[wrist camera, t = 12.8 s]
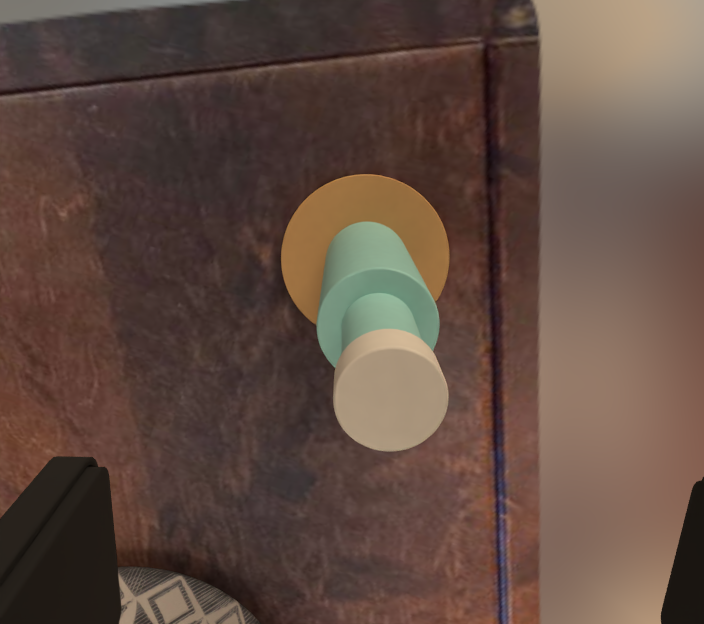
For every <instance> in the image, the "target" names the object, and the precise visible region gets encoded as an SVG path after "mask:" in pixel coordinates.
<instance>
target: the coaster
mask: <svg viewBox="0 0 704 624" xmlns="http://www.w3.org/2000/svg"><path fill="white" fill-rule="evenodd" d="M358 222H376V223H380V224H382V225H385V226H387V227H389V228H390V229H391V230H393V231H394V232H395V233H396V234H397V235H398V236H399V237H400V239H401V240H402V242H403V243H404V245H405V247H406V249H407V251H408V253H409V254H410V256H411V258H412V260H413V262H414V264H415V266H416V267H417V269H418V271H419V273H420V275H421V277H422V279H423V280H424V282H425V284H426V286H427V288H428V290H429V292H430V293H431V295H432V297H433V299H434V301H435V302H436V301H437V299H438V297H439V296H440V294H441V292H442V289H443V287H444V285H445V281H446V278H447V275H448V268H449V245H448V239H447V235H446V232H445V229H444V226H443V224H442V222H441V220H440V218H439V216H438V214H437V213H436V211H435V210H434V209H433V207H432V206H431V205H430V203H429V202H428V201H427V200H426V199H425V198H424V197H423V196H422V195H421V194H419V193H418V192H417V191H415V190H414V189H413V188H411V187H409V186H408V185H406V184H404V183H402V182H400V181H397V180H395V179H392V178H389V177H385V176H381V175H372V174H359V175H352V176H346V177H343V178H340V179H336V180H334V181H332V182H330V183H327V184H325V185H324V186H322V187H320V188H319V189H317V190H316V191H315V192H313V193H312V194H311V195H310V196H309V197H307V198H306V199H305V201H304V202H303V203H302V204H301V205H300V206H299V207H298V209H297V210H296V212H295V213H294V215H293V216H292V218H291V220H290V222H289V224H288V226H287V229H286V232H285V235H284V239H283V243H282V250H281V267H282V273H283V278H284V281H285V284H286V287H287V290H288V292H289V294H290V296H291V298H292V300H293V301H294V303H295V304H296V306H297V307H298V308H299V310H300V311H301V312H302V313H303V314H304V315H305V316H306V317H307V318H308V319H309V320H310V321H311V322H312V323H314V324H315V325H316V324H317V315H318V308H319V301H320V294H321V287H322V280H323V273H324V266H325V259H326V253H327V250H328V247H329V245H330V243H331V241H332V240H333V238H334V237H335V236H336V235H337V234H338V233H339V232H340V231H341V230H342V229H344V228H346V227H347V226H349V225H352V224H355V223H358Z"/></svg>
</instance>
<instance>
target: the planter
mask: <svg viewBox="0 0 704 624" xmlns="http://www.w3.org/2000/svg"><path fill="white" fill-rule="evenodd" d="M118 576H119V586H120V597H121V616H120V622H119V624H261V623H260V622H259V621H258V620H257V619H256V618H255V617H254V615H253V614H252V613H251V612H250V611H248V610H247V609H246V608H245V607H244V606H243V605H242V604H240V603H239V602H238V601H236V600H235V599H234V598H232V597H231V596H229V595H228V594H226V593H225V592H223V591H221V590H219V589H218V588H216V587H214V586H212V585H210V584H208V583H206V582H203V581H201V580H198V579H196V578H193V577H190V576H187V575H184V574H181V573H177V572H173V571H168V570H163V569H157V568H149V567H118Z"/></svg>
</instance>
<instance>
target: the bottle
mask: <svg viewBox="0 0 704 624" xmlns="http://www.w3.org/2000/svg"><path fill="white" fill-rule="evenodd" d="M316 325H317V336H318V341H319V344H320V347H321V349H322V351H323V353H324V355H325V356H326V358H327V359H328V361H329V362H330V363H331V364H332V365H333V366H334V367H335V374H334V393H333V403H334V410H335V414H336V417H337V419H338V421H339V423H340V425H341V426H342V428H343V429H344V431H345V432H346V433H347V434H348V435H349V436H350V437H351V438H353V439H354V440H355V441H357V442H358V443H360V444H362V445H364V446H366V447H368V448H371V449H375V450H380V451H399V450H404V449H408V448H411V447H414V446H416V445H418V444H420V443H422V442H423V441H425V440H426V439H427V438H429V437H430V436H431V435H432V434H433V433H434V432H435V431H436V430H437V428H438V427H439V425H440V424H441V422H442V421H443V418H444V416H445V414H446V411H447V407H448V396H449V395H448V387H447V383H446V380H445V378H444V375H443V373H442V371H441V368H440V366H439V363H438V361H437V358H436V356H435V354H434V353H433V349H434V347H435V345H436V342H437V339H438V334H439V314H438V310H437V306H436V304H435V301H434V299H433V297H432V295H431V293H430V292H429V290H428V288H427V286H426V284H425V282H424V280H423V279H422V277H421V275H420V273H419V271H418V269H417V267H416V266H415V264H414V262H413V260H412V258H411V256H410V254H409V253H408V251H407V249H406V247H405V245H404V243H403V242H402V240H401V239H400V237H399V236H398V235H397V234H396V233H395V232H394V231H393V230H391V229H390V228H389V227H387V226H385V225H382V224H380V223H376V222H358V223H355V224H352V225H349V226H347V227H346V228H344V229H342V230H341V231H340V232H339V233H338V234H337V235H336V236H335V237H334V238H333V240H332V241H331V243H330V245H329V247H328V250H327V253H326V259H325V266H324V273H323V280H322V287H321V294H320V301H319V308H318V315H317V324H316Z"/></svg>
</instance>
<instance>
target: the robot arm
mask: <svg viewBox="0 0 704 624" xmlns="http://www.w3.org/2000/svg"><path fill="white" fill-rule="evenodd" d="M120 616H121V597H120V586H119V576H118V565H117V555H116V544H115V533H114V523H113V512H112V502H111V491H110V480H109V473H108V470H107V468H105V467H98V464H97V462H96V460H95V459H94V458H93V457H53V458H52V459H51V460H50V461H49V462H48V463H47V464H46V466H45V467H44V468H43V469H42V470H41V471H40V473H39V474H38V475H37V476H36V477H35V479H34V480H33V481H32V482H31V483H30V484H29V486H28V487H27V488H26V489H25V490H24V491H23V493H22V494H21V495H20V496H19V497H18V499H17V500H16V501H15V502H14V503H13V504H12V506H11V507H10V508H9V509H8V510H7V512H6V513H5V514H4V515H3V516H2V517H1V519H0V624H119V622H120ZM661 624H704V477H703V479H702V481H698V482H696V483H695V485H694V486H693V489H692V492H691V496H690V500H689V504H688V508H687V512H686V516H685V520H684V524H683V528H682V532H681V536H680V540H679V544H678V548H677V552H676V556H675V559H674V564H673V568H672V571H671V575H670V579H669V584H668V587H667V592H666V595H665V599H664V603H663V607H662V612H661Z"/></svg>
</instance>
